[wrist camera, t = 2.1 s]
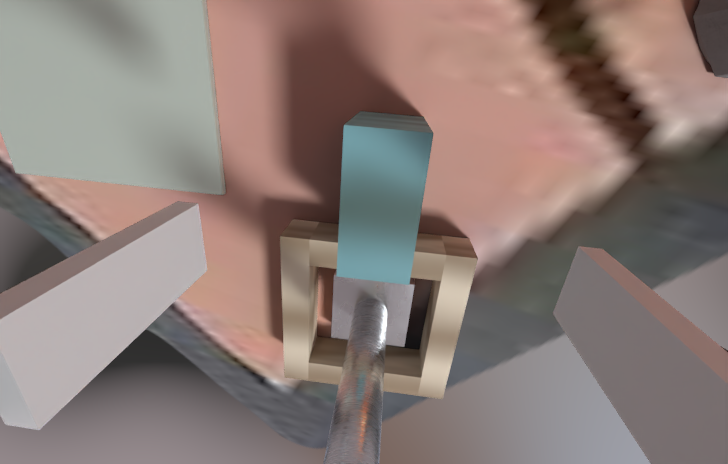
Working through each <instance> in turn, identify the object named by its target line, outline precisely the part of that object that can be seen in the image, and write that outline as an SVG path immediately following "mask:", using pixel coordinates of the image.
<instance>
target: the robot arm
mask: <svg viewBox="0 0 728 464" xmlns="http://www.w3.org/2000/svg"><path fill="white" fill-rule="evenodd" d="M206 271H207V265H206V257H205V250H204V242H203V235H202V227H201V220H200V213H199V205H198V203H189V202H180V201H177V202H175V203H173V204H172V205H170V206H168V207H166V208H164V209H162V210H160V211H158V212H156V213H154V214H152V215H150V216H149V217H147V218H145V219H143V220H141V221H139V222H137V223H135V224H133V225H131V226H129V227H127V228H125V229H124V230H122V231H120V232H118V233H116V234H114V235H112V236H110V237H108V238H106V239H104V240H102V241H100V242H99V243H97V244H95V245H93V246H91V247H89V248H87V249H85V250H83V251H81V252H79V253H77V254H76V255H74V256H72V257H70V258H68V259H66V260H64V261H62V262H60V263H58V264H56V265H55V266H53V267H51V268H49V269H46V270H44V271H42V272H40V273H38V274H36V275H34V276H32V277H30V278H28V279H26V280H25V281H24V282H22V283H19V284H17V285H15V286H13V287H11V288H9V289H7V290H6V291H4V292H3V293H2V292H1V293H0V415H1V417H2V419H3V421H4V423H5V424H6V425H11V426H17V427H23V428H29V429H35V430H40V429H41V428H42V427H43V426H44V425H45V424H46V423H47V422H48V421H49V420H50V419H51V418H52V417H53V416H54V415H55V414H57V412H59V411H60V410H61V409H62V408H63V407H64V406H65V405H66V404H67V403H68V402H69V401H70V400H71V399H72V398H73V397H74V396H75V395H76V394H78V393H79V392H80V391H81V390H82V389H83V388H84V387H85V386H86V385H87V384H88V383H89V382H90V381H91V380H92V379H93V378H94V377H95V376H97V375H98V373H100V372H101V371H102V370H103V369H104V368H105V367H106V366H107V365H108V364H109V363H110V362H111V361H112V360H113V359H114V358H115V357H116V356H117V355H119V354H120V353H121V352H122V351H123V350H124V349H125V348H126V347H127V346H128V345H129V344H130V343H131V342H132V341H133V340H134V339H135V338H136V337H138V336H139V335H140V334H141V333H142V332H143V331H144V330H145V329H146V328H147V327H148V326H149V325H150V324H151V323H152V322H153V321H154V320H155V319H156V318H158V317H159V316H160V315H161V314H162V313H163V312H164V311H165V310H166V309H167V308H168V307H169V306H170V305H171V304H172V303H173V302H174V301H175V300H176V299H177V298H179V297H180V296H181V295H182V294H183V293H184V292H185V291H186V290H187V289H188V288H189V287H190V286H191V285H192V284H193V283H194V282H195V281H196V280H197V279H199V278H200V277H201V276H202V275H203V274H204V273H205V272H206ZM553 315H554V316H555V318H556V319H557V321H558V322H559V324H560V325H561V327H562V328H563V330H564V331H565V333H566V335H567V336H568V338H569V339H570V340H571V342H572V344H573V345H574V347H575V348H576V350H577V351H578V353H579V354H580V356H581V357H582V359H583V360H584V362H585V364H586V365H587V366H588V368H589V369H590V371H591V373H592V374H593V376H594V377H595V379H596V380H597V382H598V383H599V385H600V386H601V388H602V390H603V391H604V393H605V394H606V396H607V397H608V399H609V400H610V402H611V403H612V405H613V406H614V408H615V409H616V411H617V413H618V414H619V416H620V417H621V419H622V420H623V422H624V423H625V425H626V426H627V428H628V429H629V431H630V432H631V434H632V435H633V437H634V438H635V440H636V442H637V443H638V445H639V446H640V448H641V449H642V451H643V452H644V454H645V455H646V457H647V458H648V460H649V461H650V463H651V464H728V350H726V349H724V348H723V347H721V346H719V345H718V344H717V343H716V342H714V341H713V340H712V339H711V338H710V337H708V336H707V335H706V334H705V333H704V332H702V331H701V330H700V329H699V328H698V327H696V326H695V325H694V324H693V323H692V322H690V321H689V320H688V319H687V318H685V317H684V316H683V315H682V314H680V313H679V312H678V311H677V310H676V309H675V308H673V307H672V306H671V305H670V304H668V303H667V302H666V301H665V300H664V299H662V298H661V297H660V296H659V295H658V294H656V293H655V292H654V291H653V290H652V289H650V288H649V287H648V286H647V285H646V284H644V283H643V282H642V281H641V280H639V279H638V278H637V277H636V276H635V275H633V274H632V273H631V272H630V271H629V270H627V269H626V268H625V267H624V266H623V265H621V264H620V263H619V262H618V261H616V260H615V259H614V258H613V257H612V256H610V255H609V254H608V253H607V252H606V251H604V250H603V249H598V248H589V247H580V246H579V247H578V249H577V252H576V254H575V257H574V260H573V262H572V265H571V268H570V270H569V273H568V275H567V278H566V281H565V283H564V286H563V289H562V291H561V294H560V296H559V299H558V302H557V304H556V307H555V309H554V312H553Z"/></svg>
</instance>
